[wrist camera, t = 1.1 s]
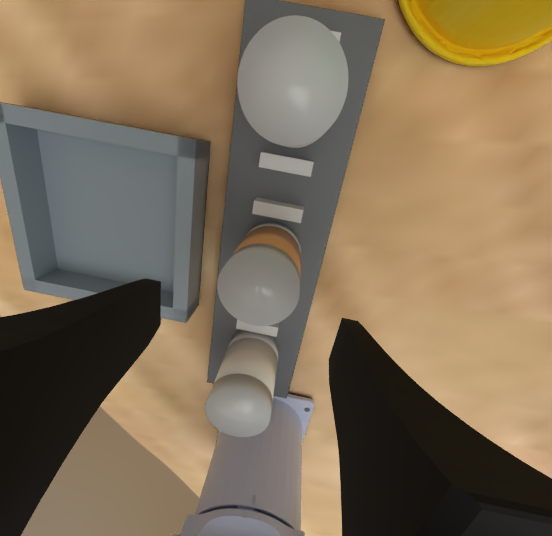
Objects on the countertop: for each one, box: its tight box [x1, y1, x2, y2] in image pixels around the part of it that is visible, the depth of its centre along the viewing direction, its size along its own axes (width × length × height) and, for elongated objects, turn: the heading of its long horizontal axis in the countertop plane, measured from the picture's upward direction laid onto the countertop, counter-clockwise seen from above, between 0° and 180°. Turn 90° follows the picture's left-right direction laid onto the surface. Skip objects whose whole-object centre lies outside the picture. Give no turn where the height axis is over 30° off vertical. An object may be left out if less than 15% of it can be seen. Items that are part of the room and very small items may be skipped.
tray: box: [0, 102, 210, 323], centre depth 19 cm, size 12×12×2 cm
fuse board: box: [207, 0, 385, 399], centre depth 19 cm, size 26×7×2 cm, turn 170°
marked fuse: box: [217, 221, 301, 326], centre depth 16 cm, size 4×4×6 cm
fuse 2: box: [237, 15, 349, 148], centre depth 13 cm, size 4×4×6 cm
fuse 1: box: [205, 330, 279, 437], centre depth 20 cm, size 4×4×6 cm
